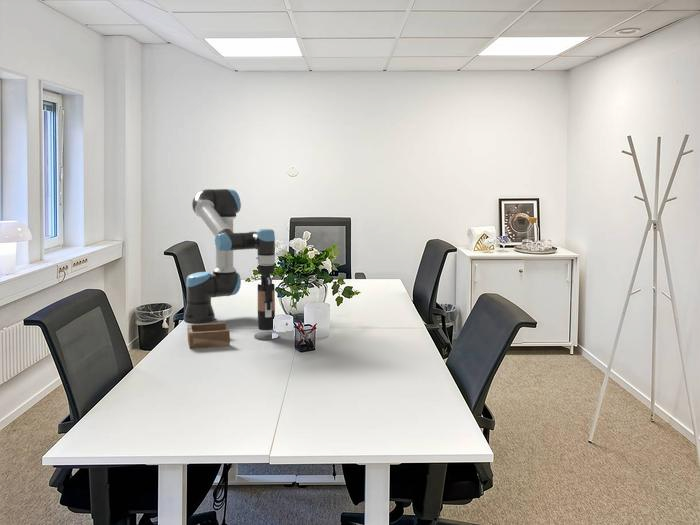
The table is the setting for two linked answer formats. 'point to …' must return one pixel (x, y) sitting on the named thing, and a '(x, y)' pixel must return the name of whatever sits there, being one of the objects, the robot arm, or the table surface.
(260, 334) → the coaster
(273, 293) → the travel mug
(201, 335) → the frame
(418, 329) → the table surface
